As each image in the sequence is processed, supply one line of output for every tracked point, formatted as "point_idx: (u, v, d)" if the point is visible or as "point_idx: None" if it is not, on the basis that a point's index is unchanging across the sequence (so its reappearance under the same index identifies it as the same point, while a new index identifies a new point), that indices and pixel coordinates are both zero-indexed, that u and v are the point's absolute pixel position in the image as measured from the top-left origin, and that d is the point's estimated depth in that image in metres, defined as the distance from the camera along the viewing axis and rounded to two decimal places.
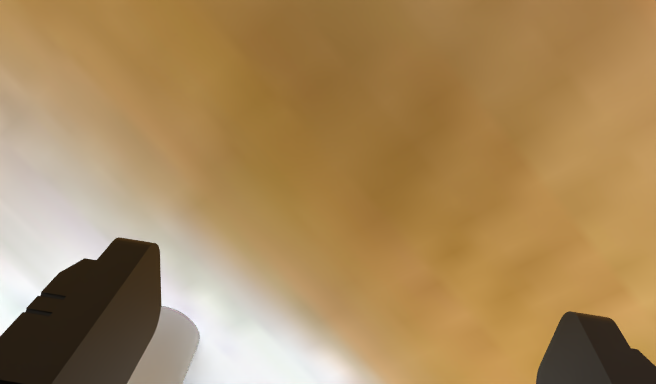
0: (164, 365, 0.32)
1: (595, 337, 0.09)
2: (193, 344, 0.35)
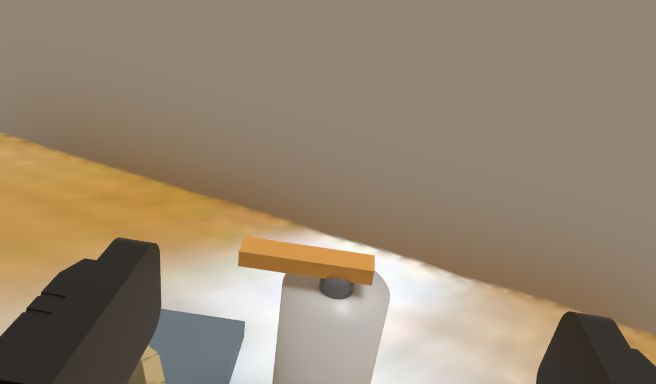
0: None
1: (595, 337, 0.09)
2: None
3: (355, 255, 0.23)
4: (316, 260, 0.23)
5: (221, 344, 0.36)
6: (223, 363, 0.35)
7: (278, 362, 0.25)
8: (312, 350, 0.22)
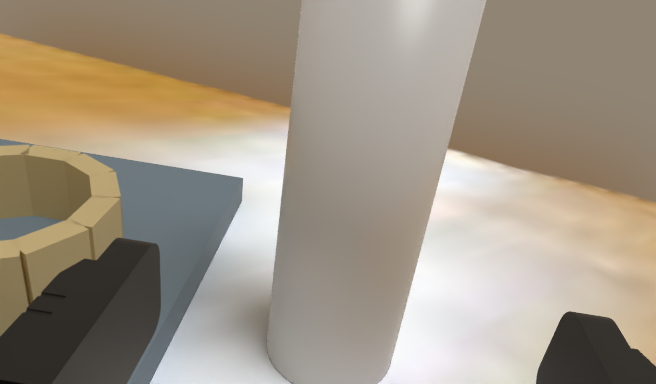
0: (399, 295, 0.17)
1: (595, 337, 0.09)
2: (343, 373, 0.18)
3: None
4: None
5: (210, 196, 0.26)
6: (211, 214, 0.25)
7: (296, 107, 0.15)
8: (361, 40, 0.13)
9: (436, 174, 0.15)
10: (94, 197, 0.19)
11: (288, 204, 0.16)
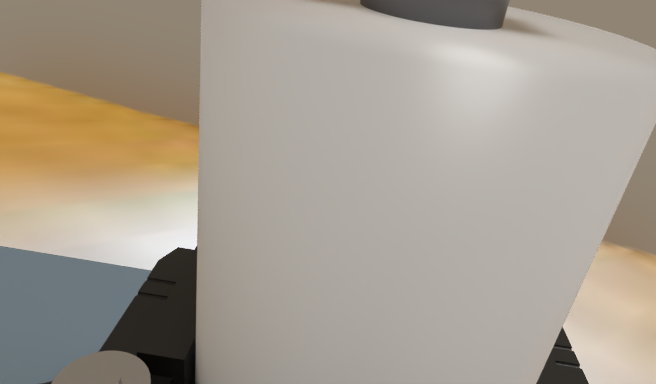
0: None
1: None
2: None
3: None
4: None
5: None
6: None
7: (199, 324, 0.07)
8: (334, 244, 0.04)
9: None
10: None
11: None
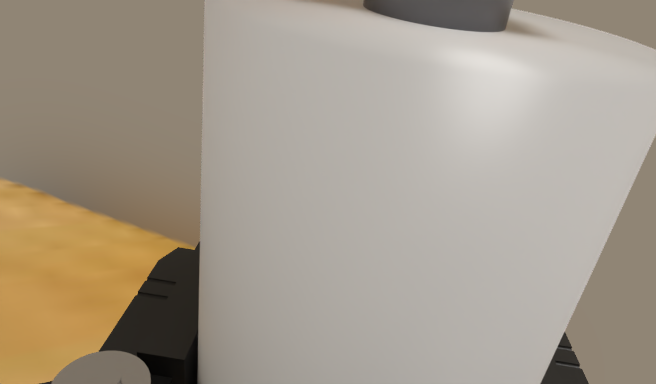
0: None
1: None
2: None
3: None
4: None
5: None
6: None
7: (201, 327, 0.07)
8: (339, 247, 0.04)
9: None
10: None
11: None
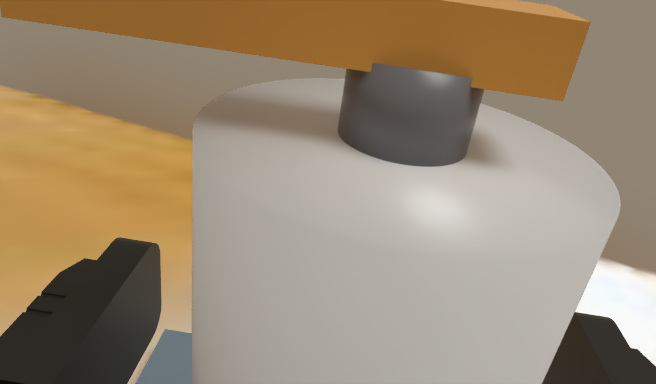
0: None
1: (595, 337, 0.09)
2: None
3: None
4: None
5: None
6: None
7: None
8: (310, 377, 0.05)
9: None
10: None
11: None
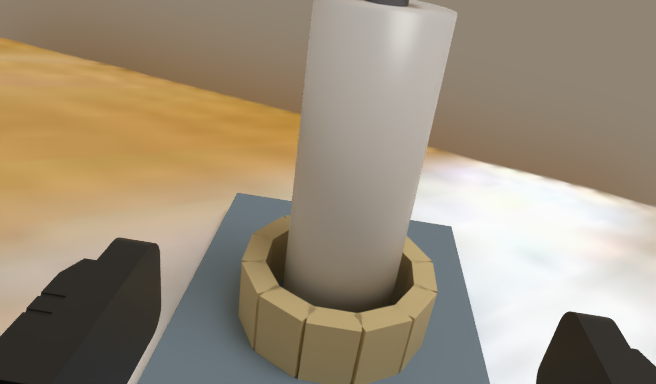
0: (390, 267, 0.21)
1: (595, 337, 0.09)
2: None
3: None
4: None
5: (438, 246, 0.31)
6: (451, 263, 0.29)
7: (306, 114, 0.19)
8: (356, 62, 0.16)
9: (418, 167, 0.19)
10: (414, 262, 0.24)
11: (299, 193, 0.20)
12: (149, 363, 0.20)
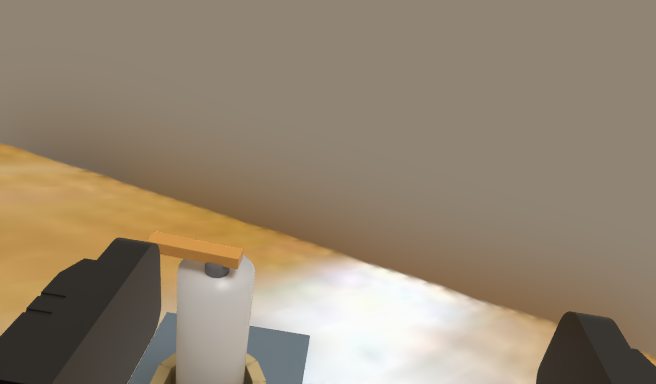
0: None
1: (595, 337, 0.09)
2: None
3: (229, 248, 0.33)
4: (199, 249, 0.33)
5: (294, 353, 0.47)
6: (298, 368, 0.45)
7: (177, 321, 0.35)
8: (193, 312, 0.32)
9: (238, 350, 0.35)
10: (254, 382, 0.40)
11: (176, 357, 0.36)
12: None
